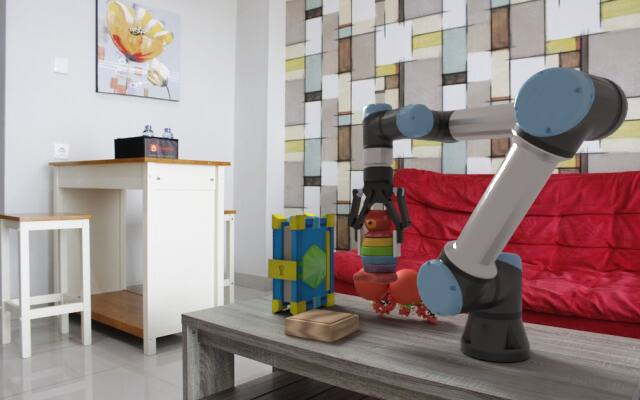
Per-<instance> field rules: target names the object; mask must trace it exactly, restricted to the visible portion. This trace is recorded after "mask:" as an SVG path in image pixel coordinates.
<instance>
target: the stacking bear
mask: <svg viewBox="0 0 640 400" xmlns="http://www.w3.org/2000/svg"><path fill="white" fill-rule="evenodd" d="M392 223H393V221H392V219H391V217H390V215H389V213H388V211H387V209H386V208H385V209H370V210H369V211H368V213H367V216H366V218H365V221H364V227H365V228H366V230H367V232H365V235H364V236H365V237H364V238H363V242H362V247H361V255H360V258H361V259H360V260H361V263H362V268H363V269H364V271H360V272H358V271H357V272H355V273H354V274H353V276H352V280H354V282H355V281H369V282H374V283H380V284H387V283H392V282H395V281H397V280H398V277H397V274H396V272H397V271H396V270H397V267H398V260H399V257H393V232H391V231H390V229H391V227H392Z"/></svg>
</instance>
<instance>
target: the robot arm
mask: <svg viewBox="0 0 640 400" xmlns="http://www.w3.org/2000/svg"><path fill="white" fill-rule="evenodd" d="M514 99H515V100H514V101H513V102H508V103H501V104H492V105H486V106H485V105H484V106H479V107H478V106H477V107H469V108H463V109H462V108H461V109H460V108H459V109H457V110H456V109H455V110H445V111H444V110H443V111H442V110H441V111H440V110H434V109H430V108H429V107H427V105H425V104H421V103H416V104H408V105H404V106H401V107H396V108H393V106H392V105H391V104H389V103H385V102H384V103H380V102H379V103H371V104H367V105H366V106H364V107H363V109H362V120H361V123H362V124H361V125H362V165H363V166H365V167H363V169H362V171H363V172H362V174H363V176H362V179H363V186H362V188H353V189H352V190H351V191H352V200H351V206H350V210H349V217H348V222H347V226H348V227H349V228H352V229H354V241H355V243H357V256H361V247H362V242H363V238H364V237H365V236H364V235H365V234H366V229H365V228H364V227H363V226H365V223H364V221H365V218H366V216H367V213H368V211H369V210H372V207H373V206H374V204H383V206H384V207H385V209H387V211H388V213H389V215H390V217H391V219H392V223H393V225H394V227H395V228H394V230H392V234H393V257H398V258H399V257H401V255H402V253H401V245H402V244H404V241H405V229H408V228H411V227H412V222H411V218H410V213H409V209H408V204H407V200H406V188H405V187H395V186H394V168H393V167H392V165H394V141H400V140H401V141H402V140H415V141H416V140H417V141H426V142H429V141H430V142H435V143H436V142H437V143H443V144H453V143H455V144H456V143H459V142H461V141H463V142H464V141H477V140H493V139H510V138H513V140H514V141H513V143H512V144H511V146H510V147H509V150H508V151H507V153H506V155H505V156H504V158H503V160H502V161H501V163H500V165H499V167H498V168H497V170H496V172H495V173H494V176H493V177H492V179H491V180H490V182H489V184H488V186H487V188H486V189H485V191H484V193H483V195H482V196H481V198H480V199H479V201H478V203H477V204H476V207H475V208H474V210H473V211H472V213H471V215H470V217H469V218H468V220H467V222H466V223H465V225H464V227H463V229H462V230H461V232H460V234H459V236H458V237H457V238H456V240H449V241H447V243H445V245H444V246H443V247H442V250H441V251H440V253H439V255H438V256H437V258H436V259H430V260H428V261H426V262H424V263H423V264H422V265H421V266H420V268H419V270H418V271H417V272H418V275H417V287H418V289H419V295H420V298H421V301H422V302H423V303H424V305H425V306H426V307H427V308H428V309H429V310H430V311H431V313H434V314H435V316H441V317H448V316H449V317H455V316H458V315H462V314H467V317H466V322H465V325H464V327H463V331H462V334H461V336H460V340H459V350H460V352H461V353H462V354H464V355H466V356H469V357H471V358H475V359H477V360H478V359H479V360H482V361H490V362H499V363H501V362H502V363H512V362H515V363H516V362H520V361H525V360H527V359H529V358H530V357H531V344H530V341H529V337H528V335H527V331H526V329H525V326H524V322H523V273H524V270H523V263H522V258H521V257H520V255H519V254H517V253H513V252H503V250H504V248H505V247H506V246H507V244H508V242H509V241H510V239H511V238H512V237H513V235H514V234H515V232H516V230H517V228H518V227H519V226H520V224H521V222H522V221H523V220H524V218H525V216H526V215H527V213H528V211H530V208H531V207H532V206H533V204H534V202H535V200H536V199H537V197H538V196H539V194H540V192H541V191H542V190H543V188H544V186H545V185H546V183H547V182H548V180H549V179H550V177H552V174H553V173H554V171H555V170H556V168H557V167H558V165H559V164H560V163H562V162H567V161H570V160H572V159H574V157H575V155H576V153H578V151H579V149H580V147H581V146H582V144H584V142H594V141H600V140H603V139H606V138H608V137H610V136H612V135H613V134H614V133H615V132H617V131H618V130H619V129H620V128H621V127H622V126H623V124H624V122H625V120H626V118H627V115H628V111H629V102H628V97H627V95H626V93H625V92H624V90H623V89H622V87H621V86H620V85H619V84H618V83H616V82H615V81H613V80H612V79H609V78H606V77H602V76H598V75H595V74H591V73H589V72H585V71H582V70H579V69H576V68H573V67H559V66H558V67H549V68H548V67H547V68H545V69H542V70H540V71H537V72H536V73H534V74H533V75H531V76H530V77H529V78H527V80H526V81H525V82H524V83H522V85H521V87H520V88H519V90H518V92H517V94H516V96H515V98H514ZM393 194H394V196H395V197H396V202H397V207H398V211H397V209H396V207H395V204H394V203H395V202H394V200H393V199H392V196H393ZM363 196H364V197H365V199H364V200H363V205H362V207H361V203H362V197H363ZM360 208H361V209H360ZM398 212H399V213H398ZM422 302H421V303H422Z"/></svg>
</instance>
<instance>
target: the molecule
mask: <svg viewBox="0 0 640 400" xmlns="http://www.w3.org/2000/svg"><path fill="white" fill-rule="evenodd" d="M360 271H364V269H363V267H362V268H360V269H359V270H358V271H357V272H360ZM395 272H396V274H397V277H398V280H397V281H395V282H392V283H387V284H380V283H374V282H369V281H355V280H354V283H353V284H354V288H355V291H356V293H357V295H359V297H360V298H362V299H363V300H366V301H368V302H370V307H372V309H373V311H375V313H376V314H379V315H380V317H382V316H384V314H386V315H390V313H391V312H392V311H394V309H395V308H396V307H397V305H398V307H399V309H398V315H399V316H405V317H407V318H408V317H409V315H410V314H411V312H412V314H411V315H414V314H416V315H417V317H419V318H420V317H422V319H423V320H426V321H427V322H429V323H431V324H437V321H438V317H437V315H436V314H434V313H433V312H431V311H430V310H429V309H428V308H427V307H426V306H425V305H424V303H423V302H421V301H422V300H421V298H420V295H419V289H418V287H417V275H418V272H419V271H416V270H415V269H411V268H402V269H400V270H397V271H395ZM386 295H387V298H386V299H387V300H384V301H382V300H381V299H383V298H384V297H386ZM414 305H417V306H414ZM415 309H416V310H415ZM413 312H414V313H413ZM426 312H427V313H426Z"/></svg>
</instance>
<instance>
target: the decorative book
mask: <svg viewBox="0 0 640 400" xmlns="http://www.w3.org/2000/svg"><path fill="white" fill-rule="evenodd" d="M335 217H336V215H335V213H334V212H333V213H332V212H331V213H326V214H324V215H323V216H321V217H320V216H318V215H315V214H314V213H312V212H303V214H296V215H290V216H289V217H288V218H287V217H286V216H285V215H283V214H281V213H277V214H276V213H274V214H271V229H272V259H269V258H268V259H267V278H270V279H272V299H271V313H272V314H275V313H279V312H282V311H284V310H286V309H288V306H289V312H290V314H292V316H294V315H297V314H300V313H303V312H306V311H309V310H312V309H319V308H320V307H321V306H324V307H326V308H328V307H332V306H335V303H336V301H335V300H336V297H335V294H336V293H335V227H336V225H335V223H336V221H335V220H336V219H335Z"/></svg>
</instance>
